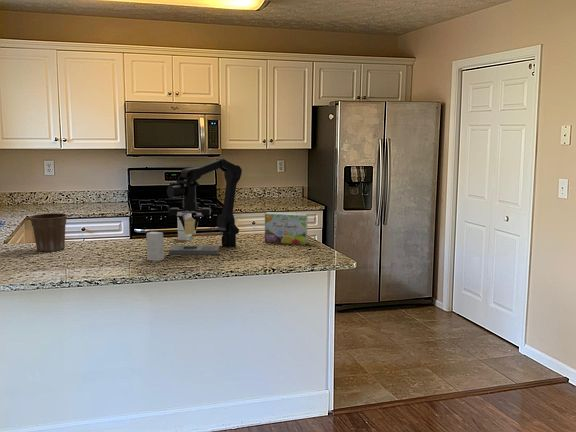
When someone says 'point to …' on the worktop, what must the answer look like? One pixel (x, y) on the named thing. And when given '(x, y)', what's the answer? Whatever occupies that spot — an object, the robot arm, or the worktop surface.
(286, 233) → the snack box
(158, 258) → the skincare box
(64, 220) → the plant pot
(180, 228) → the syrup box
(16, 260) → the worktop surface
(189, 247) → the grey slotted board
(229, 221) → the robot arm
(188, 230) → the stepped wooden chunk
